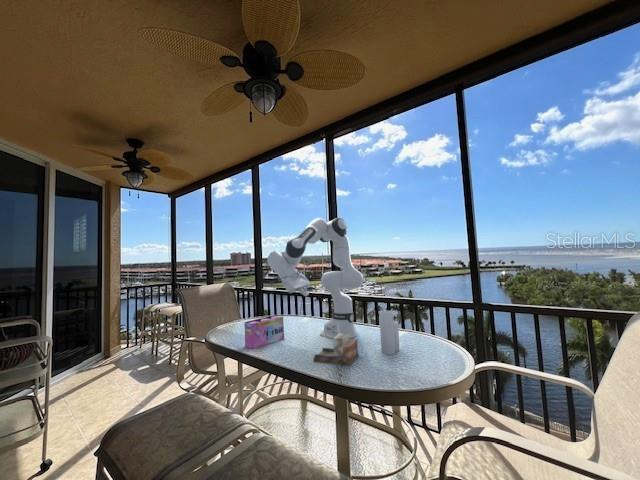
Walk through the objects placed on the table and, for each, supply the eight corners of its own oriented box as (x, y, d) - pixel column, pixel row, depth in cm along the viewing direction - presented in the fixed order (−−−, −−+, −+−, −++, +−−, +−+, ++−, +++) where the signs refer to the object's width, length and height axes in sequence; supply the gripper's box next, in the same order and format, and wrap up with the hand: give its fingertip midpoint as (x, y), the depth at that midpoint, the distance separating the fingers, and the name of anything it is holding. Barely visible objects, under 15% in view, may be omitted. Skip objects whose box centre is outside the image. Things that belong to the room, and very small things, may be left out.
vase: (392, 356, 141) (389, 313, 142) (378, 353, 145) (376, 312, 146) (401, 349, 150) (398, 309, 151) (387, 347, 154) (385, 308, 155)
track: (313, 361, 138) (312, 343, 138) (324, 352, 150) (323, 336, 150) (350, 365, 131) (349, 347, 131) (358, 355, 143) (357, 339, 143)
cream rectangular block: (334, 357, 136) (333, 337, 137) (340, 352, 144) (339, 333, 144) (344, 358, 134) (343, 338, 135) (349, 353, 142) (349, 334, 142)
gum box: (278, 336, 183) (277, 314, 183) (286, 338, 177) (285, 315, 178) (244, 346, 165) (243, 322, 166) (252, 349, 160) (251, 323, 161)
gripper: (283, 273, 144) (301, 293, 140) (301, 270, 163) (318, 288, 158) (275, 282, 145) (293, 302, 141) (295, 278, 164) (311, 296, 160)
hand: (307, 295), depth 150 cm, fingers closed
